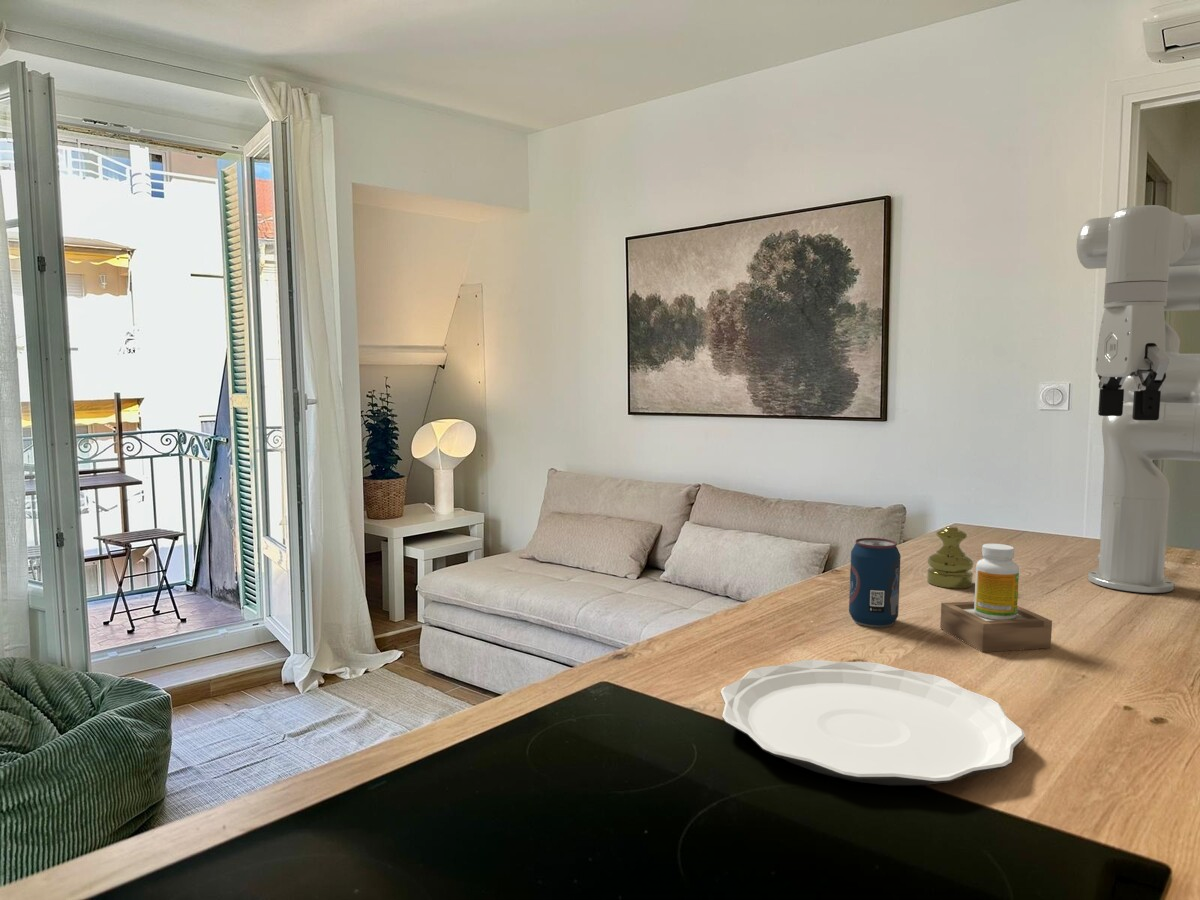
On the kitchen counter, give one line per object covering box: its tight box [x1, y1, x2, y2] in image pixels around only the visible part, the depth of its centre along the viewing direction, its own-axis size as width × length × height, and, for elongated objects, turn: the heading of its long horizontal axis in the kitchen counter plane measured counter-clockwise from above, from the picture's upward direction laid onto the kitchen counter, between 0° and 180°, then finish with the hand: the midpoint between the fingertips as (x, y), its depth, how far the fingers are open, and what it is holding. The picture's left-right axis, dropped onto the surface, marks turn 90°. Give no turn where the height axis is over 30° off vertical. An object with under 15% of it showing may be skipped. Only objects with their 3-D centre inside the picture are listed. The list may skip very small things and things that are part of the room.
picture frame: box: [939, 601, 1053, 653], centre depth 117 cm, size 10×10×4 cm
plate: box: [720, 659, 1026, 786], centre depth 88 cm, size 29×29×2 cm
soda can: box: [848, 537, 902, 628], centre depth 124 cm, size 7×7×12 cm
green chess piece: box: [926, 525, 975, 589], centre depth 146 cm, size 7×7×10 cm
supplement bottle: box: [973, 543, 1020, 620], centre depth 116 cm, size 5×5×10 cm
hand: (1127, 417), depth 121 cm, fingers open, 9 cm apart
